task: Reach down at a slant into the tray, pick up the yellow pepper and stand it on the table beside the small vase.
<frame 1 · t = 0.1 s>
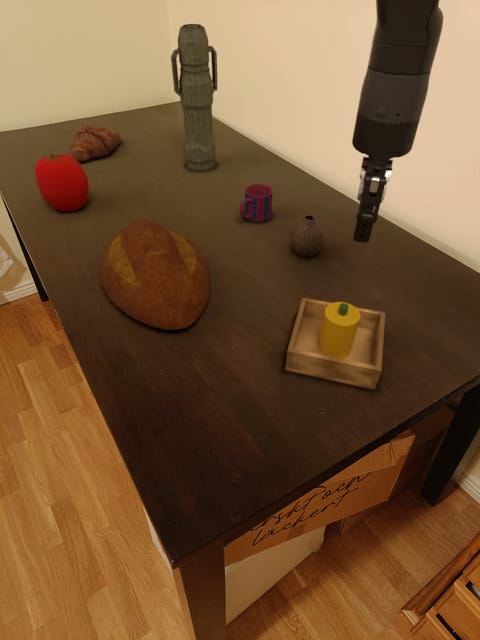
hand: (363, 225, 63), 22 cm above the table, tool pointing down, fingers open, 8 cm apart
pastry: (97, 152, 136), on the table
grey tall piece: (200, 165, 129), on the table
tray: (334, 350, 74), on the table
vase: (305, 252, 96), on the table
bread: (157, 285, 88), on the table
red rounded lump: (69, 207, 111), on the table
mug: (253, 218, 107), on the table
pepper: (334, 347, 74), point 1 cm above the table, touching tray
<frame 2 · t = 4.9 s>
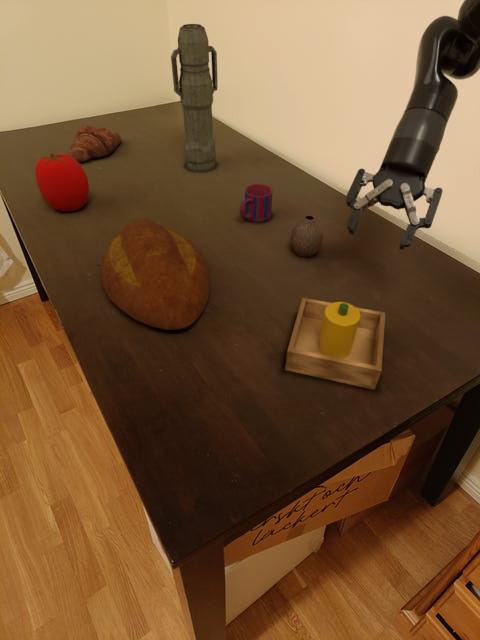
hand: (375, 240, 71), 16 cm above the table, tool tilted 45°, fingers open, 8 cm apart
nothing on the table moved.
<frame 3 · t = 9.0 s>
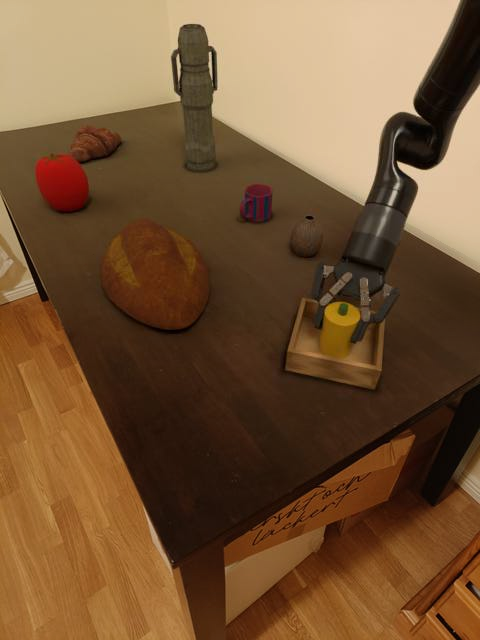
hand: (335, 335, 70), 5 cm above the table, tool tilted 45°, fingers closed on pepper, 5 cm apart
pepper: (334, 347, 74), point 1 cm above the table, touching tray, gripper
everything else where it was.
when the fingers open (4 cm above the table, at t = 19.3 s): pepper stays where it is, on the table.
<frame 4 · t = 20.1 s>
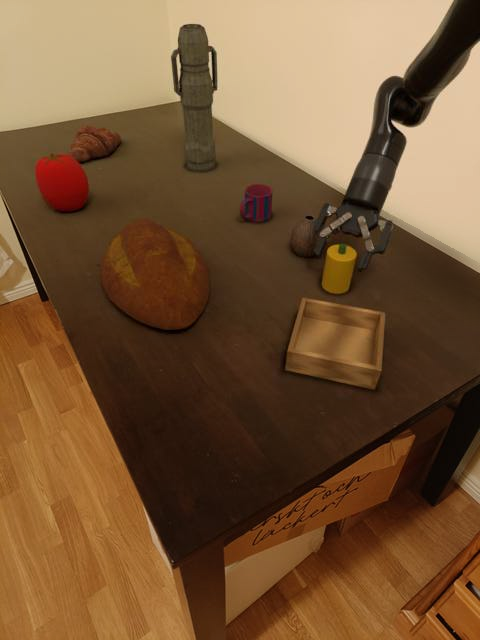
hand: (338, 264, 82), 6 cm above the table, tool tilted 45°, fingers open, 8 cm apart
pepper: (335, 285, 87), on the table
everything else where it was.
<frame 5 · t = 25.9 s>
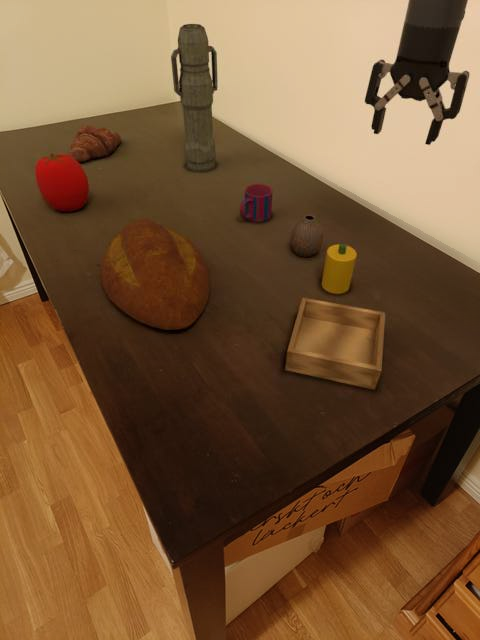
hand: (402, 137, 71), 28 cm above the table, tool pointing down, fingers open, 8 cm apart
nothing on the table moved.
at the end: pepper inside the target area (0.1 cm from its centre), on the table; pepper tilted 0°; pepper 12.7 cm from the vase (horizontally) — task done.
